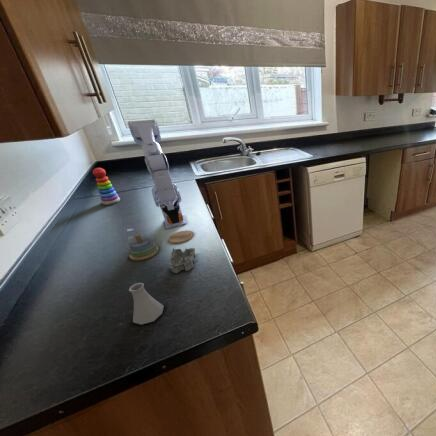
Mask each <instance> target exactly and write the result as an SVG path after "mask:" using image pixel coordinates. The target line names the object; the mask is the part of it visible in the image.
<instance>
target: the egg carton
mask: <svg viewBox="0 0 436 436" xmlns="http://www.w3.org/2000/svg"><path fill="white" fill-rule="evenodd" d="M170 255H171V256H170V258H169V262H168V269H170V271H171V273H174V274H179V272H181V271H186V272H187V271H190V270H191V269H193V268H194V263H195V258H196V248H195V247H190V248H184V250H182V249H181V248H175V247H174V248H172V250H171V253H170Z"/></svg>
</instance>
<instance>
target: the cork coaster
mask: <svg viewBox="0 0 436 436" xmlns="http://www.w3.org/2000/svg"><path fill="white" fill-rule="evenodd" d="M194 235H195V234H194V232H193V231H192V230H182V231H178V232H176V233H173V234H171V235H170V237H169V238H168V241H169V242H170V243H171V244H181V243H185V242H187V241H189V240H191V239H192V238H193V237H194Z"/></svg>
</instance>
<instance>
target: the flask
mask: <svg viewBox="0 0 436 436" xmlns="http://www.w3.org/2000/svg"><path fill="white" fill-rule="evenodd" d="M144 286H145V283H143V282H137V283H133V284H132V285H130V286H129V289H128V292H129V293H131V295H132V299H133V313H132V323H134V324H137V325H140V326H142V325H144V324H149V323H152V322H155V321H156V320H157V319H158V318H159V317H160V316H161V315H162V314H163V311H164V307H165V306H164V304H162V303H160V302H159V301H158V300H157V299H155V298H154V297H152V296H151V295H150V294H149V292H148V291H147V290H146V289H145V287H144Z"/></svg>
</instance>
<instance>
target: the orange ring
mask: <svg viewBox="0 0 436 436" xmlns="http://www.w3.org/2000/svg"><path fill="white" fill-rule="evenodd" d="M182 215H183V212H182V213H179V222H181V221H183V216H182ZM166 218H167V221H168V223H169V224H173V223H172V221H171V220H170V218H169V217H168V216H167V217H166ZM175 224H176V223H175Z"/></svg>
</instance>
